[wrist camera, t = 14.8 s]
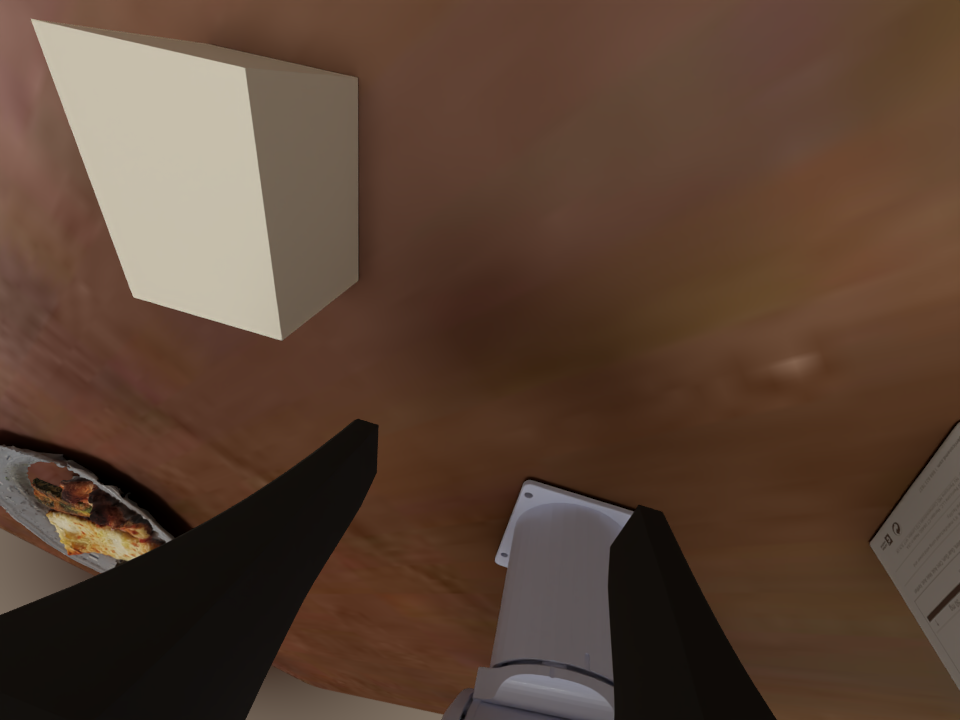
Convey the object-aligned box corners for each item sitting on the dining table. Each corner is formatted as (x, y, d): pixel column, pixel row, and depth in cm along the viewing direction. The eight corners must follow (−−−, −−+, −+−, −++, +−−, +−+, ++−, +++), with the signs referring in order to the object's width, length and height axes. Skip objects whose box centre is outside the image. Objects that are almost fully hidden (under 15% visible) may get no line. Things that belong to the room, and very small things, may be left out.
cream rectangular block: (358, 280, 19) (282, 340, 15) (243, 249, 20) (133, 297, 15) (357, 77, 15) (245, 68, 10) (207, 43, 15) (30, 18, 10)
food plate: (170, 475, 34) (131, 509, 32) (238, 600, 48) (215, 632, 45) (-49, 404, 38) (-101, 429, 35) (71, 538, 52) (40, 564, 49)
